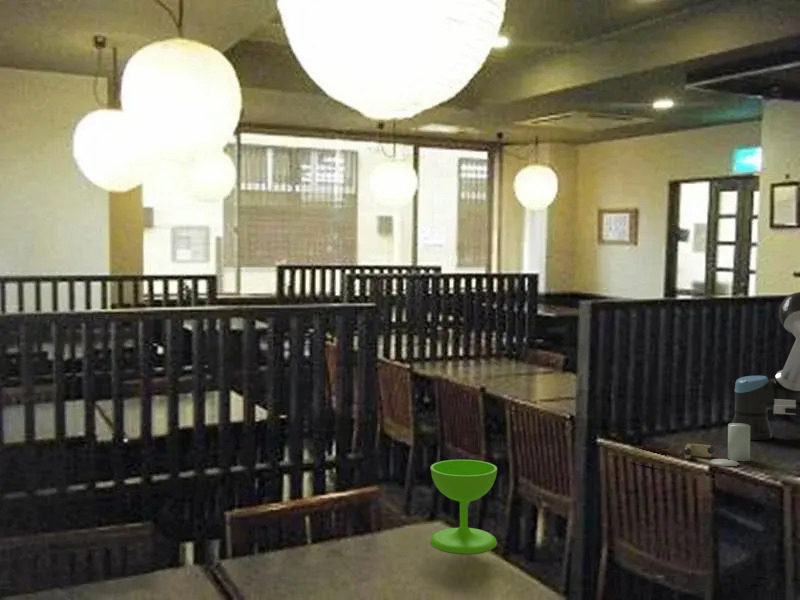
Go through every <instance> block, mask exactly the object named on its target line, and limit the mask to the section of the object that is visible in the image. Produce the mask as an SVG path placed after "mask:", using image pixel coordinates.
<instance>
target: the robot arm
mask: <svg viewBox="0 0 800 600" xmlns="http://www.w3.org/2000/svg"><path fill="white" fill-rule="evenodd" d="M778 315H779V316H778V317H779V318H778V319H779V321H780V323H781V325H782V326H783V328H784V329H785V331H787V332H788V333H792V335H793V336H794V337H795V341H794V343H793V345H792V347H791V350H790V353H789V354H788V357H787V359H786V362H785V364H784V366H783V369H781V370H779V371H777V372H776V374H775V376H774V378H773V379H769V378H768V377H767V376H764V375H748V376H747V375H746V376H742V377H740V378H738V379H736V381H735V385H734V416H733V420H732V422H731V423H743V424H748V425H750V441H764V440H771V439H772V438H773V432H772V428H771V425H770V422H769V419H768V410H773V414H776V415H777V414H778V415H791V416H792V415H794V416H797V417H800V291H799V292H794V293H792V294H789V295H788V296H786V297H785V298H784V299H783V301H782V302H781V304H780V306H779V310H778Z"/></svg>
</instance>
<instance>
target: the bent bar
mask: <svg viewBox="0 0 800 600" xmlns="http://www.w3.org/2000/svg"><path fill="white" fill-rule="evenodd" d="M715 452H716V451H715V448H714V446H712V445H711V444H701V443H700V444H699V443H689V442H688V443H686V445H685V446H684V449H683V454H684V459H687V460H690V459H691V458H692V457H701V458H711V457H712V454H714V453H715Z"/></svg>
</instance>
